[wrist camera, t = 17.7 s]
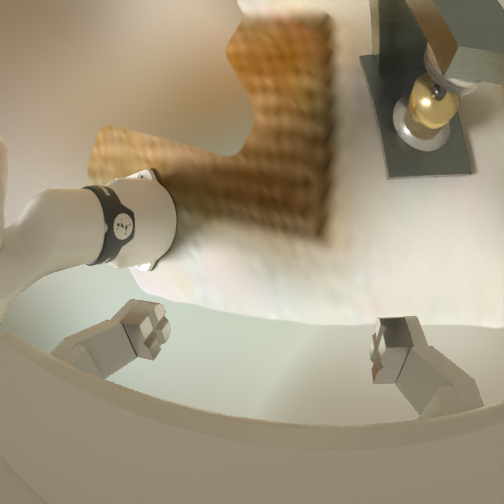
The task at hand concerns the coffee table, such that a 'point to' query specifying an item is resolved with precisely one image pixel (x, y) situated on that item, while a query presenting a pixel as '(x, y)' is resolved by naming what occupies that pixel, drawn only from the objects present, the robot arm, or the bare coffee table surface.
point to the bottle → (429, 108)
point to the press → (439, 68)
